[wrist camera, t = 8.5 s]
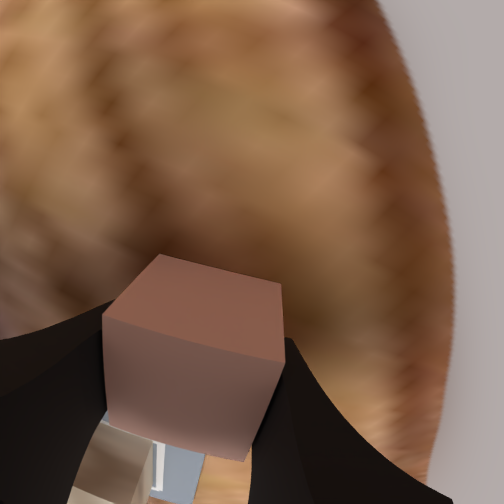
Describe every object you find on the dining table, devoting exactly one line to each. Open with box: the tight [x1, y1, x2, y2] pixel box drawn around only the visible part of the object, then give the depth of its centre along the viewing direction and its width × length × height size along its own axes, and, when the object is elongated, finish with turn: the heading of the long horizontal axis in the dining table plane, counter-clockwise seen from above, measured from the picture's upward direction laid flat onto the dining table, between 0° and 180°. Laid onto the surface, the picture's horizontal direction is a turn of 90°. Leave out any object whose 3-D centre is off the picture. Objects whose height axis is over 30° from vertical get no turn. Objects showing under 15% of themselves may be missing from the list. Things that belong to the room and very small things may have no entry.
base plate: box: [100, 410, 205, 504], centre depth 13 cm, size 10×9×1 cm
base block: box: [67, 423, 153, 504], centre depth 11 cm, size 5×5×4 cm
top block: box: [102, 254, 285, 462], centre depth 9 cm, size 4×4×4 cm
